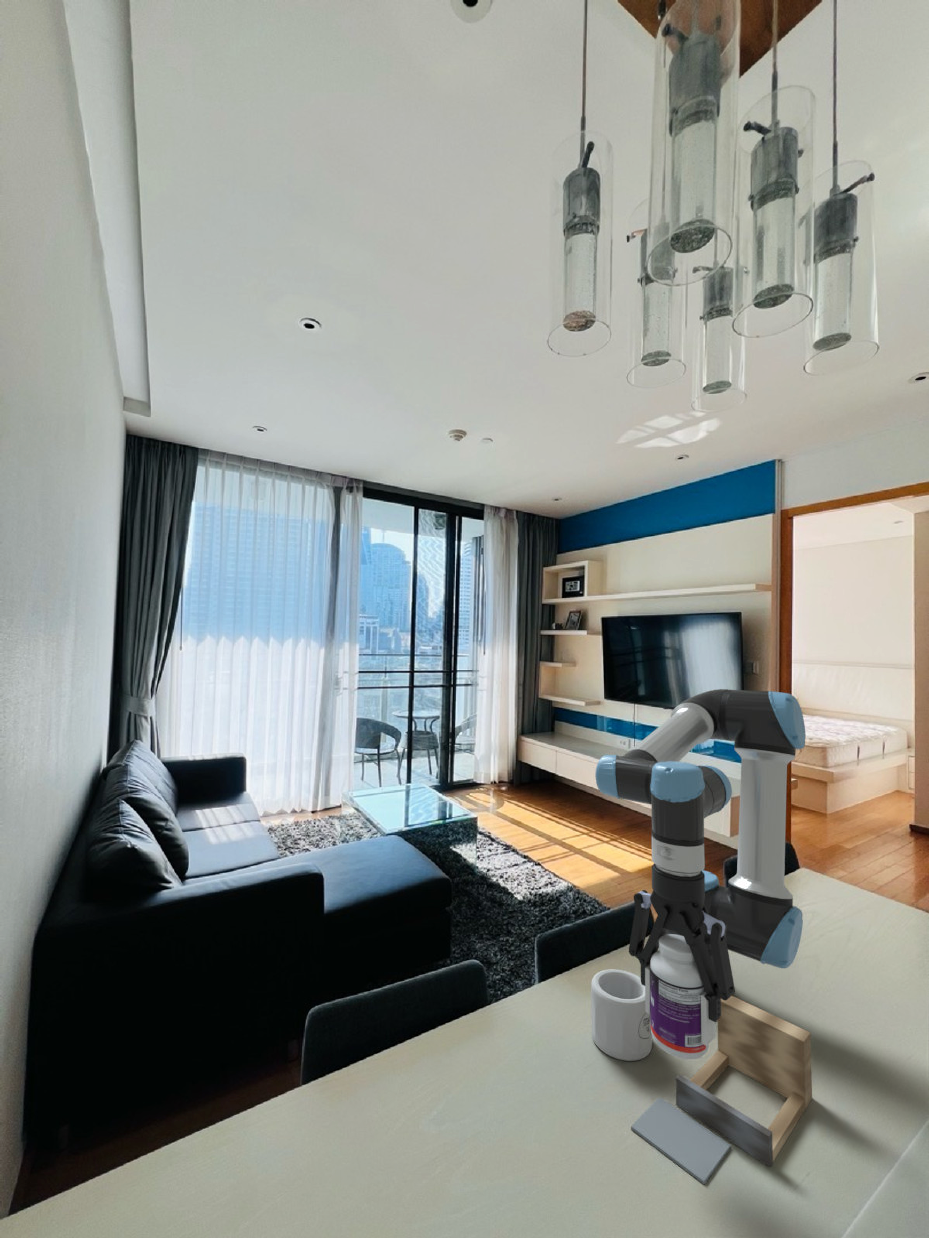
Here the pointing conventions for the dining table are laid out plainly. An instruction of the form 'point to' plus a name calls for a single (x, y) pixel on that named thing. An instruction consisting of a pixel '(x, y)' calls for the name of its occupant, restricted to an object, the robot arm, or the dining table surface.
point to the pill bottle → (676, 999)
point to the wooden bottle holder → (766, 1057)
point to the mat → (681, 1139)
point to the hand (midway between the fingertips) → (679, 1023)
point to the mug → (620, 1015)
